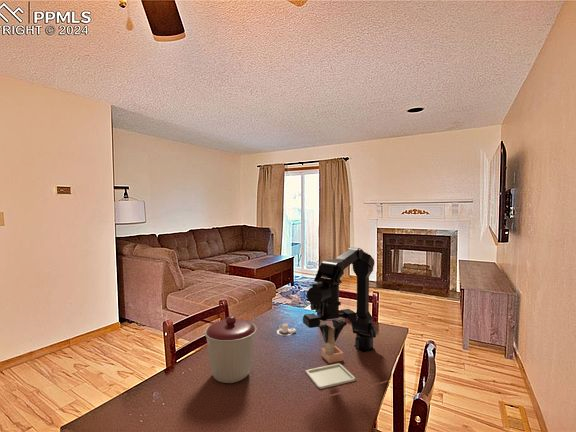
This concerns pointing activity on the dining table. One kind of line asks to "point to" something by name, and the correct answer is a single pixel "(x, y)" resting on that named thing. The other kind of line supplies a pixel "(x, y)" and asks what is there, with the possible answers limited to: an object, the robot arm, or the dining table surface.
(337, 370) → the tray
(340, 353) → the orange open box
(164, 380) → the dining table surface
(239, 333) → the canister
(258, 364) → the dining table surface
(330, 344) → the dowel
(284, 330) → the teacup and saucer
